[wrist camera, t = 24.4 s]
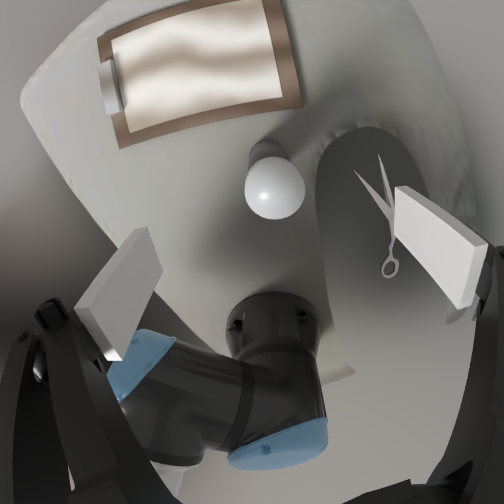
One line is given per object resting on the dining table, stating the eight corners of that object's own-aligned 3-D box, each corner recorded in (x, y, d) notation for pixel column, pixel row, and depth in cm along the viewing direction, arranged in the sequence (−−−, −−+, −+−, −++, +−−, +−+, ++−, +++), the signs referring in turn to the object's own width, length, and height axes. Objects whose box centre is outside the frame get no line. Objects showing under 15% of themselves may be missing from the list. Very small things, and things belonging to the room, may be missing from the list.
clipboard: (301, 107, 28) (304, 107, 26) (122, 147, 30) (115, 151, 28) (275, -11, 20) (276, -18, 18) (100, 39, 22) (92, 36, 20)
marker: (288, 169, 32) (310, 212, 19) (253, 177, 32) (253, 225, 20) (280, 135, 30) (298, 155, 17) (244, 144, 30) (237, 169, 18)
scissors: (388, 287, 40) (331, 182, 32) (386, 284, 40) (330, 181, 33) (440, 252, 37) (398, 140, 29) (437, 250, 37) (395, 139, 29)
